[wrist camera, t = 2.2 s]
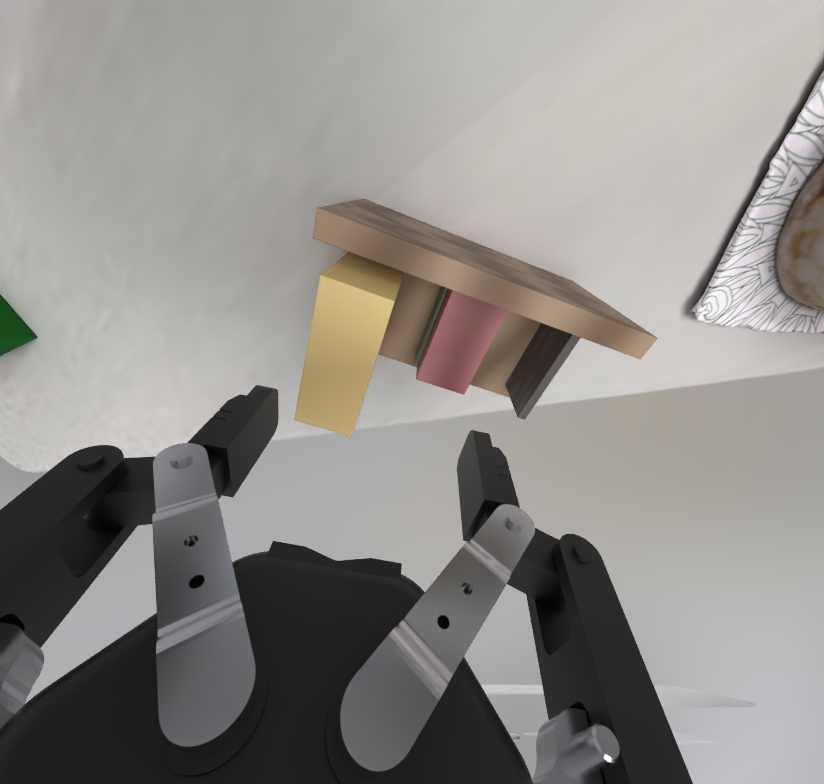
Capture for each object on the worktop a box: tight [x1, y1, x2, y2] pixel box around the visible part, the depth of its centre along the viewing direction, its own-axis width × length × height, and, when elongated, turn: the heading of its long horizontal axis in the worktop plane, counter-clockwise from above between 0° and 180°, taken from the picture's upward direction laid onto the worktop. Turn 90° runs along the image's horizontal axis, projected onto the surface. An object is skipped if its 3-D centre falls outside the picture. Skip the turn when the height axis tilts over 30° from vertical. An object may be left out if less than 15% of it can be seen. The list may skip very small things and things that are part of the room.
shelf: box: [313, 199, 658, 419], centre depth 29 cm, size 22×14×14 cm, turn 71°
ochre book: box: [294, 252, 404, 436], centre depth 26 cm, size 4×10×16 cm, turn 161°
